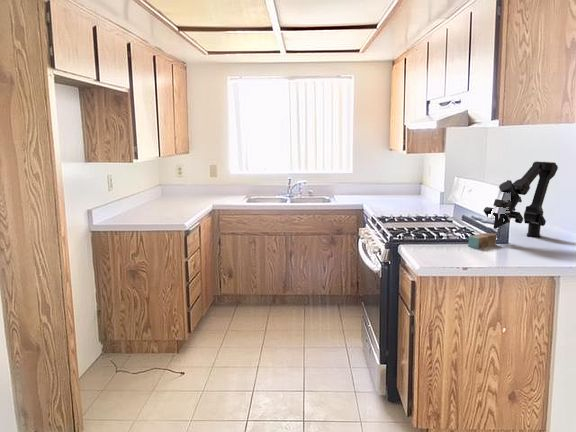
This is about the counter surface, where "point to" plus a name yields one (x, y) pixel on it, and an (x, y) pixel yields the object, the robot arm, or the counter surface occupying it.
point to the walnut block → (482, 240)
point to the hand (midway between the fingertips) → (494, 228)
